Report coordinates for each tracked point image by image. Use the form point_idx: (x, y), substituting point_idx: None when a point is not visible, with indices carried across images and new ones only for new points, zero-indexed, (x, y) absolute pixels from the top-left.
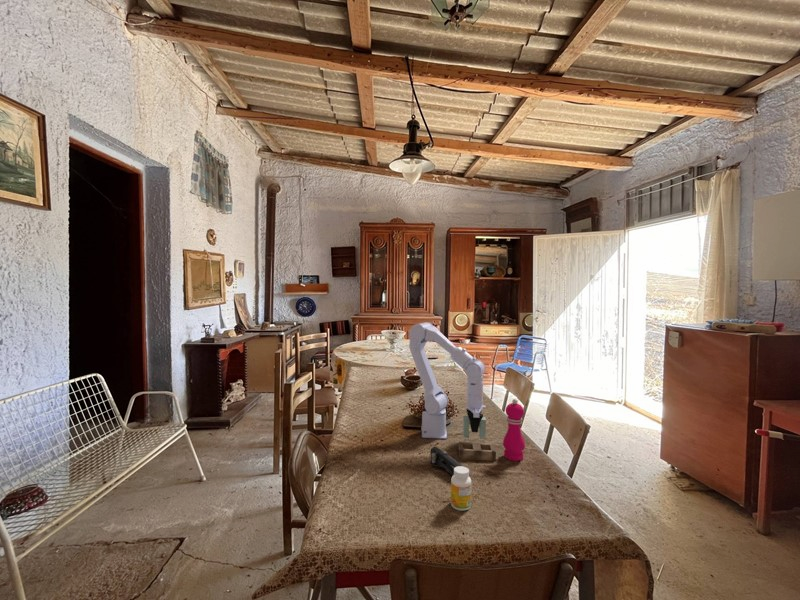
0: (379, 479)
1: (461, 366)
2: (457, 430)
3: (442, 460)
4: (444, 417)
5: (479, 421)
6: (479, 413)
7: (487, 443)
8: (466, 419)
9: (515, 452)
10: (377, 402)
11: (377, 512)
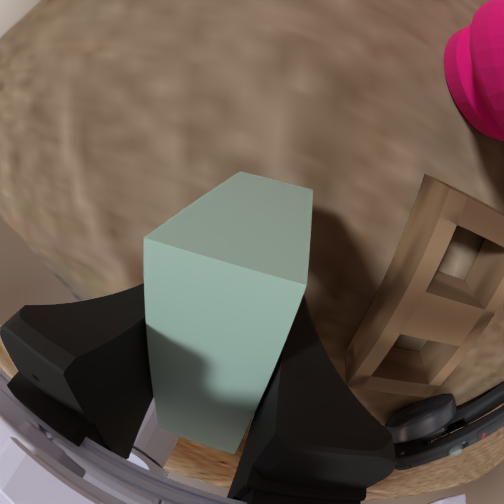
0: (406, 476)
1: None
2: (102, 269)
3: (441, 430)
4: (141, 431)
5: (339, 387)
6: (112, 351)
7: (434, 233)
8: (239, 441)
9: None
10: None
11: (478, 463)
